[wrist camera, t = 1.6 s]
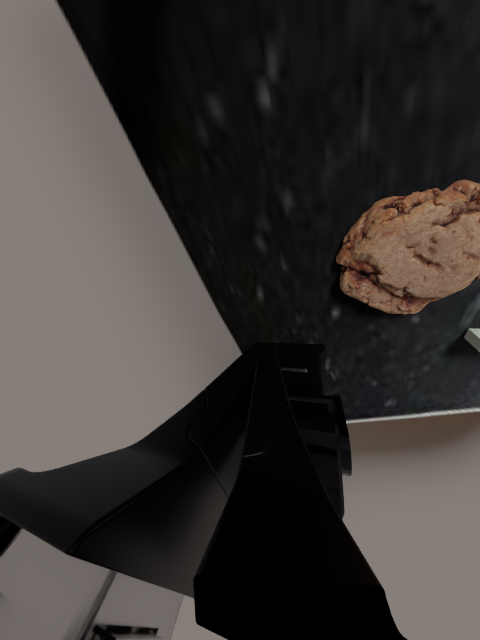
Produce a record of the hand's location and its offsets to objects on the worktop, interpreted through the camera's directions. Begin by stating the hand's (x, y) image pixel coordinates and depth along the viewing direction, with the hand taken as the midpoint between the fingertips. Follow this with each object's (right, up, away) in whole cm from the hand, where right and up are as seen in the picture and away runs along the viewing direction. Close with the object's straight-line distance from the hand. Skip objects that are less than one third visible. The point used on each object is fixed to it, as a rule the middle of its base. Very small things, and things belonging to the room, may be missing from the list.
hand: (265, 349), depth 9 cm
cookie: (+12, +7, +7) cm, 16 cm away
